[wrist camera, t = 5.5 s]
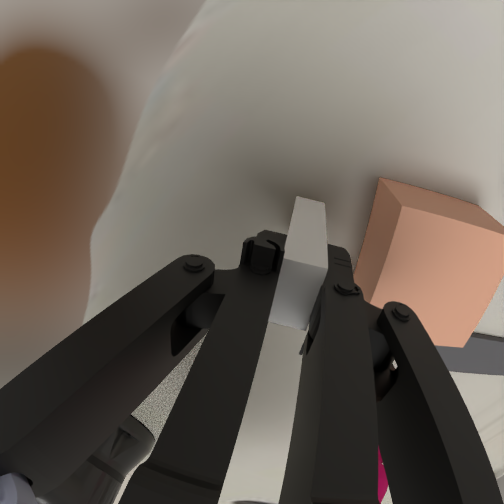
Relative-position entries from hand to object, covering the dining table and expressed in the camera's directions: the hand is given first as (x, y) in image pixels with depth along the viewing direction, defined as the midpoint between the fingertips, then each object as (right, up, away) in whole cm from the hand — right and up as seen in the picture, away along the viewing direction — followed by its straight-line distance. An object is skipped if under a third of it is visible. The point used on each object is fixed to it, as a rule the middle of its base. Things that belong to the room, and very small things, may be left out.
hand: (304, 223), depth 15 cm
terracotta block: (+7, -1, +1) cm, 7 cm away
